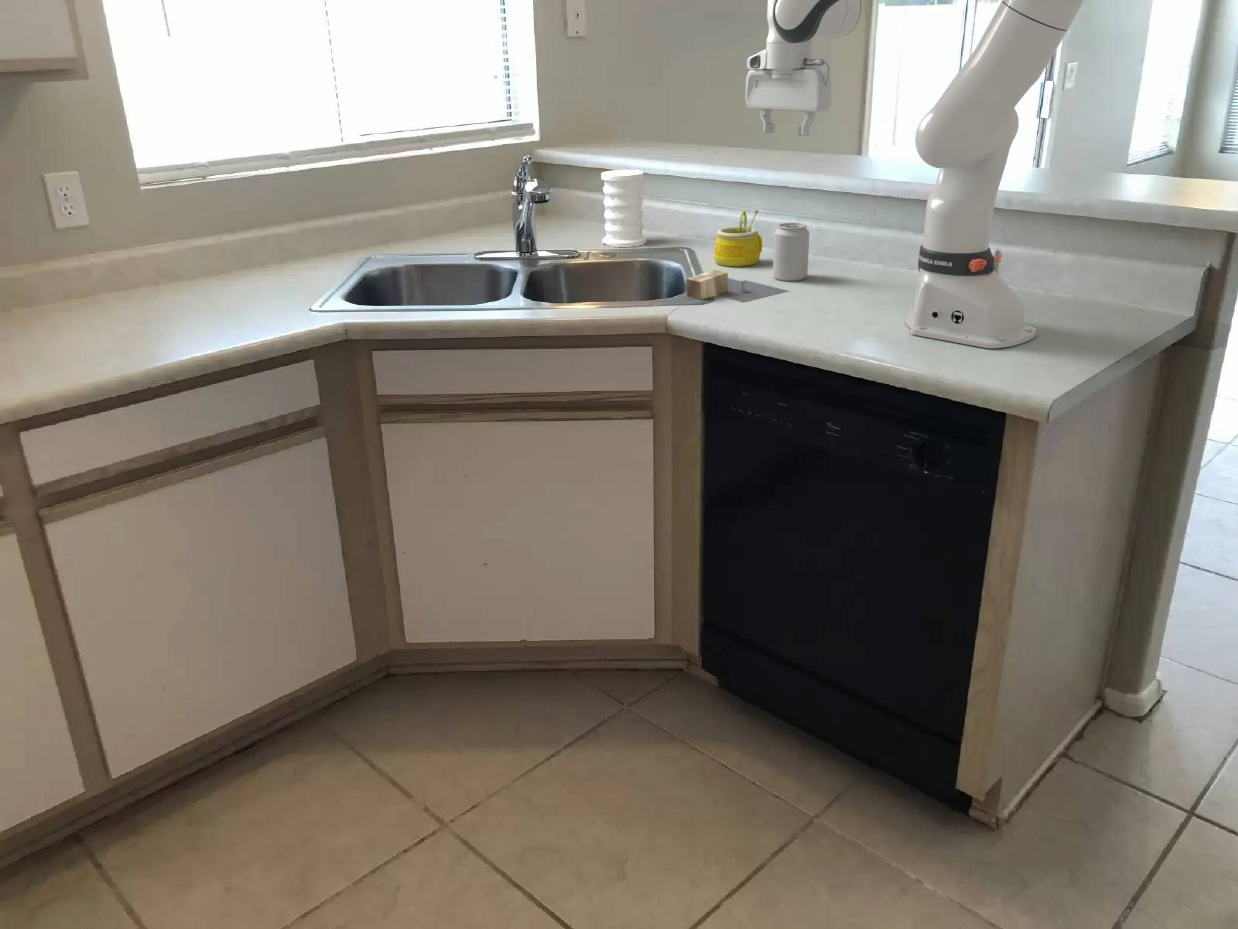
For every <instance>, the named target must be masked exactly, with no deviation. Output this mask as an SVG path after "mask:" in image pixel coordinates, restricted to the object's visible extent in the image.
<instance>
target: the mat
mask: <svg viewBox="0 0 1238 929" xmlns="http://www.w3.org/2000/svg"><path fill="white" fill-rule="evenodd" d="M744 280H745V292H742V293H740V292H737V291H733V290H729V291H727V292H725V293H722V294H719V295H717V297H722V298H725V299H729V300H732V301H737V302H740V303H744V304H745V303H749V302H752V301H756V300H760V299H763V298H768V297H771V296H776V295H780V294H783V293H787V292H789V290H787V289H783V288H779V287H775V286H771V285H766V284H762V283H758V282H754V281H750V280H746V279H744Z"/></svg>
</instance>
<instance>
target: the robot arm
mask: <svg viewBox="0 0 1238 929" xmlns="http://www.w3.org/2000/svg"><path fill="white" fill-rule="evenodd" d="M1083 3H1084V0H1001V2H1000V3H999V5H998V8H996V11H995V13H994V15H993V16H992V18H991V20H990V22H989V24H988V25H987V27H986V29H985V30H984V33H983V35H982V36H981V38H980V39H979V42H978V44H977V45H976V47H975V49H974V50H973V52H972V53H971V55H970V56H969V58H968V59H967V60H966V62H965V63H964V65H963V66H962V67H961V68H960V70H959V71H958V72H957V74H956V75H955V77H954V78H953V79H952V81H951V82H950V83H949V85H948V86H947V87H946V89H945V90H944V91H943V93H942V95H941V96H940V98H939V99H938V100H937V102H936V103H935V104H934V106H933V107H932V108H931V110H929V111H928V113H926V114H925V115H924V116H923V118H922V119H921V120H920V122H919V124H918V126H917V129H916V131H915V137H914V142H915V144H914V145H915V148H916V149H915V150H916V152H917V153H918V154H917V155H918V156H919V157H920V159H922V161H923V162H924V163H926V165H929V166H931V167H933V168H936V169H939V172H938V174H937V178H936V180H935V183H934V185H933V186H934V187H933V189H932V190H931V193H930V195H929V197H928V198H927V199H928V200H927V202H926V207H925V208H926V209H925V219H924V227H923V230H924V231H923V240H922V244H921V245H920V247H919V253H918V262H917V266H918V267H917V268H918V276H917V277H918V278H917V282H916V288H915V292H914V296H913V300H912V303H911V306H910V309H909V313H908V314H907V317H906V319H905V324H906V326H908V327H909V330H910V331H909V333H910V334H911V335H913V336H919V337H924V338H930V339H936V340H941V341H945V342H946V341H947V342H951V343H956V344H957V343H958V344H962V345H968V346H972V347H980V348H986V349H1002V348H1008V347H1015V346H1017V345H1020V344H1024V343H1026V342H1028V341H1030V340H1032V339H1034V338H1035V337H1036V336H1037V328H1036V327H1034V326H1031V325H1029V324H1025V311H1024V310H1025V309H1024V308H1025V307H1024V302H1023V300H1022V298H1021V297H1020V295H1018V293H1016V291H1014V290H1013V289H1012V288H1011V287H1010V286H1009V285H1008V284H1007V283H1006V281H1005V280H1003V278H1002V276H1000V275H999V274H998V273H997V271H996V267H995V263H999V262H1000V263H1001V261H1002V259H1001V258H1002V257H1003V256H1002V254H998V255H995V256H994V255H993V253H992V250H991V248H990V239H991V238H990V237H991V230H992V225H993V216H994V209H995V204H996V199H997V194H998V190H999V187H1000V184H1001V181H1002V180H1003V179H1002V178H1003V175H1004V171H1005V167H1006V166H1007V161H1008V157H1009V154H1010V149H1011V146H1012V144H1013V141H1014V140H1015V138H1016V136H1017V133H1018V130H1019V122H1020V121H1019V116H1018V112H1017V111H1016V109H1015V107H1016V106H1017V104H1018V103H1019V102H1020V101H1021V100H1022V98H1023V97H1024V96H1025V95H1026V93H1027V92H1028V91H1029V90H1030V89H1031V87H1032V86H1034V85H1035V83H1037V81H1038V80H1039V79H1040V77H1041V76H1042V74H1043V72H1044V71H1045V69H1046V68H1047V66H1048V64H1049V63H1050V61H1051V59H1052V58H1053V56H1054V54H1055V52H1056V50H1057V49H1058V47H1059V45H1060V43H1061V42H1062V41H1063V39H1064V37H1065V36H1066V34H1067V32H1068V31H1069V29H1070V27H1071V25H1072V23H1073V22H1074V20H1075V18H1076V16H1077V14H1078V13H1079V11H1080V9H1081V7H1082V4H1083ZM766 9H767V10H766V19H767V23H768V24H767V25H768V35H767V37H766V41H765V42H766V44H765V47H766V48H765V49H762V50H761V51H759V52H757V53H756V54H753V55H750V56H749V57H747V61H746V68H747V69H748V70H749V71H748V72H747V75H746V77H745V79H746V80H745V102H746V105H747V108H749V109H758V110H759V117H760V119H761V122H762V124H763V133H764V134H774V133H775V132H776V131H775V130H776V129H775V128H776V123H773V121H772V117H771V115H773V114H772V113H773V111H774V110H776V111H791V112H793V111H795V112H802V113H801V114H802V115H801V116H802V118H803V121H802V123H801V125H800V126H797V136H799V137H807V136H809V135H810V131H811V130H810V129H811V128H810V126H812V123H813V122H814V119H815V118H816V112H817V113H819V112H827V111H829V109H830V108H831V106H832V82H831V74H830V73H831V69H830V68H831V67H830V65H829V63H827V62H826V61H825V59H823V58H817V59H814V58H813V47H814V46H813V44H814V41H821V40H822V41H823V40H835V39H839V38H841V37H845V36H847V35H850V34H851V33H852V32H853V31H854V29H855V28H856V27H857V24H858V22H859V20H860V18H861V13H862V1H861V0H767V8H766Z"/></svg>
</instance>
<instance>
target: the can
mask: <svg viewBox="0 0 1238 929" xmlns="http://www.w3.org/2000/svg"><path fill="white" fill-rule="evenodd" d="M807 226H808V225H807V224H806V223H802V222H783V223H779V224H777V228H776V230H775V231H774V232H773V235H774V236H773V259H772V260H773V261H772V262H773V263H772V277H774V279H775V280H778V281H782V282H798V281H802V280H804V279H806V278H807V277H808V271H809V270H808V269H809V250H810V249H809V248H810V245H809V244H810V230H809V229H807Z"/></svg>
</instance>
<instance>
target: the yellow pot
mask: <svg viewBox="0 0 1238 929" xmlns="http://www.w3.org/2000/svg"><path fill="white" fill-rule="evenodd" d="M758 213H759V210H758V209H755V211H754V215H753V217H752V220H751V221H750V224H749V226H747V222H748V220H747V219H748V218H747V217H748V216H747V212H746V211H745V210H742V211H741V213H740V217H739V226H727V227H722V228H720V229H718V230H717V231H716V233H715V235H716V238H715V243H714V249H713V259H714V262H715V264H718V265H719V266H722V267H727V268H728V267H730V268H740V267H741V268H743V267H744V268H745V267H748V266H749V267H750V266H752V265H755V264H757V263H758V262H759V260H760V258H761V257H760V256H761V253H762V251H763V239H762V237H761V235H760V234H759V231H757V229H756V228H753V227H752V225H753V224H754V220H755V219H756V216H757V214H758Z"/></svg>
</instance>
